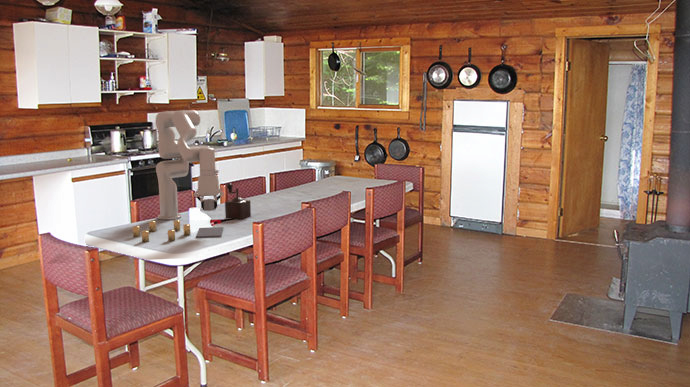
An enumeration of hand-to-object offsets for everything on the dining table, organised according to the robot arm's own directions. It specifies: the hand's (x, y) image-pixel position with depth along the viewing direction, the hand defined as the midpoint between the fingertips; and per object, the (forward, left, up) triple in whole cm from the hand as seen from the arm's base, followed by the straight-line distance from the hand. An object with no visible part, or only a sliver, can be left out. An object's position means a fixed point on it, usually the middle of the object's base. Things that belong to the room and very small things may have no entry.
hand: (209, 208), depth 306 cm
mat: (0, 0, -12) cm, 12 cm away
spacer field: (+2, -23, -12) cm, 26 cm away
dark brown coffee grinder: (-37, +11, -13) cm, 41 cm away
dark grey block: (0, 0, -1) cm, 1 cm away
